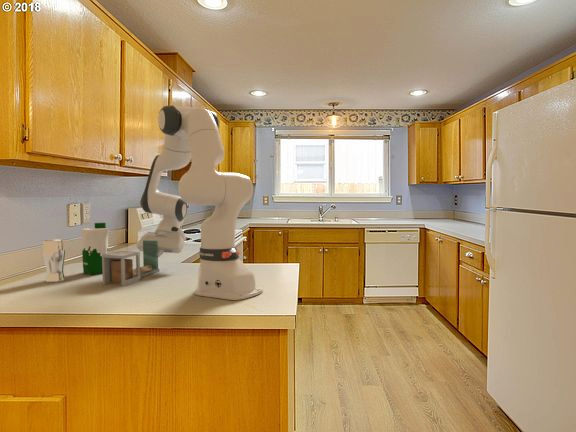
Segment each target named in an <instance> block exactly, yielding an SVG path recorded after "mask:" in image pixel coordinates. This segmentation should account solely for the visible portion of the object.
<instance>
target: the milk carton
mask: <svg viewBox="0 0 576 432" xmlns="http://www.w3.org/2000/svg"><path fill="white" fill-rule="evenodd" d="M106 224H107V223H106V222H94V227H86V228H81V229H80V231H81V250H82V251H81V254H82V255H81V256H82V269H83V274H87V275H89V276H93V275H100V274H101V275H102V274H103V272H102V255H103V254H108V253H109V230H110V228H108V227H107V226H106Z"/></svg>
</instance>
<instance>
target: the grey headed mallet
mask: <svg viewBox="0 0 576 432" xmlns="http://www.w3.org/2000/svg"><path fill="white" fill-rule="evenodd" d="M140 253H141V251H131V250H129V251H128V250H127V251H126V250H118V251H112V252H108V254H103V255H102V272H103V273H102V285H106V284H110V283H112V273H111V261H113V260H117V259H121V284H120V285H121V286H122V287H123V286H127V285H130V284H133V283H136V282H139V281H141V278H142V277H143V278H144V277H145V276H148V275H151V274H154V273H158V272H160V268H158V270H149V271H146V272H143V273H140V267H141V259H140V258H141V257H140V256H141V255H140ZM131 257H135V259H136V260H135V263H136V265H135V266H136V267H135V269H136V275H133V278H130V279H127V280H125V259H128V258H131Z"/></svg>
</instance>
